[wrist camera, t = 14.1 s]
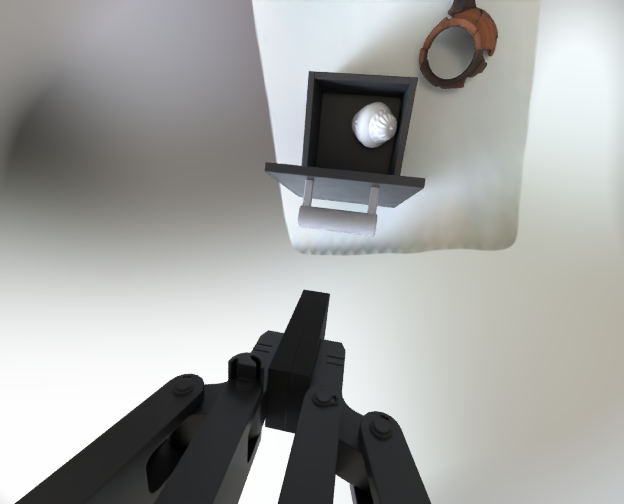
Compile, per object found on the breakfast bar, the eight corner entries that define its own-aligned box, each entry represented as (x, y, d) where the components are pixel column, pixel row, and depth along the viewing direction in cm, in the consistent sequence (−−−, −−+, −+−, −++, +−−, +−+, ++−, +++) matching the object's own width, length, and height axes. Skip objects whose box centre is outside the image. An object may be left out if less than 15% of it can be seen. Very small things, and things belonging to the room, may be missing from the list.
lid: (265, 162, 25) (258, 221, 26) (425, 178, 23) (415, 241, 24) (299, 191, 42) (294, 227, 42) (395, 202, 40) (389, 239, 40)
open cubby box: (319, 87, 46) (308, 71, 37) (407, 93, 44) (417, 77, 35) (310, 187, 51) (299, 193, 42) (389, 196, 49) (394, 204, 40)
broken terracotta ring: (497, 76, 42) (489, 85, 36) (429, 88, 47) (413, 98, 42) (507, -35, 36) (499, -43, 30) (427, -6, 41) (408, -8, 36)
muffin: (337, 119, 42) (369, 124, 37) (365, 91, 42) (401, 92, 37) (354, 152, 46) (385, 161, 41) (379, 126, 47) (413, 131, 41)
